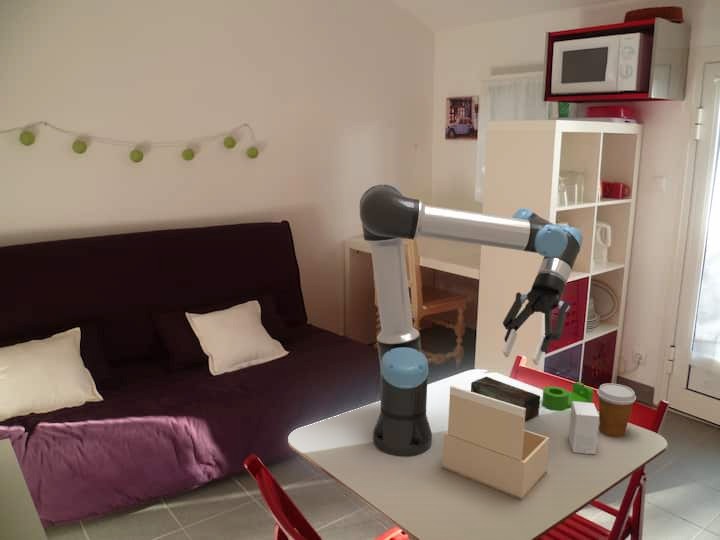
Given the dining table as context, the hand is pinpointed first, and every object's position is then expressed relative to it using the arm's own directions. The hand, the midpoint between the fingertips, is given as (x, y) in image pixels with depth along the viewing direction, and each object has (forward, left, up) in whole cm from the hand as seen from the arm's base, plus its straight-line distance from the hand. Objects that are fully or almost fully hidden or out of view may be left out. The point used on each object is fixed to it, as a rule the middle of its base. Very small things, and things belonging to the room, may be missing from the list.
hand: (519, 358), depth 145 cm
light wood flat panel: (-6, -16, -16) cm, 24 cm away
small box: (+17, +9, -25) cm, 32 cm away
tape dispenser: (+13, +34, -26) cm, 45 cm away
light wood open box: (-3, -10, -25) cm, 27 cm away
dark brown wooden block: (-4, +25, -26) cm, 36 cm away
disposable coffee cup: (+25, +20, -25) cm, 41 cm away
